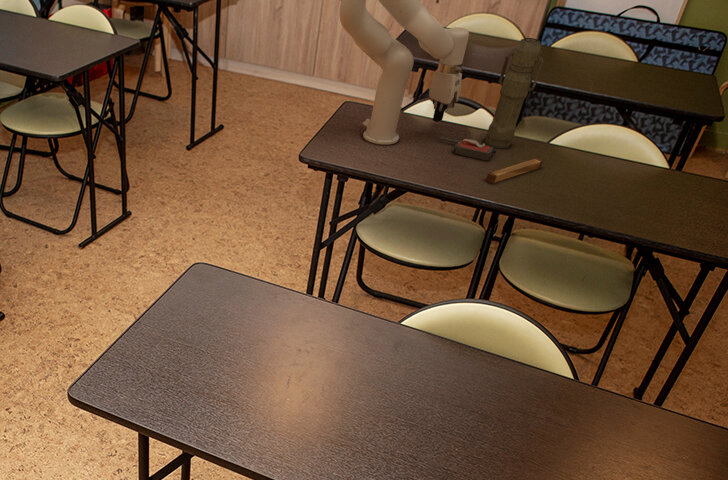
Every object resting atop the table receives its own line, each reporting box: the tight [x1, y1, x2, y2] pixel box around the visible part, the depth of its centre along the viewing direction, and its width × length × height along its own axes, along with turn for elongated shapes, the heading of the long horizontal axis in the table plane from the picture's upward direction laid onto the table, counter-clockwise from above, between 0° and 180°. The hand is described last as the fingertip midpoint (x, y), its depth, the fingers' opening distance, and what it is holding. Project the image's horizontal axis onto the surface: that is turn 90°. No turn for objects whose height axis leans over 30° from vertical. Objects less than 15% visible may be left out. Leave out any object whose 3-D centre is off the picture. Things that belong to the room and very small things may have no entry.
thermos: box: [484, 37, 544, 149], centre depth 234 cm, size 9×12×35 cm
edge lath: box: [485, 157, 544, 184], centre depth 226 cm, size 3×24×3 cm, turn 122°
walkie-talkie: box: [439, 136, 497, 161], centre depth 238 cm, size 9×4×20 cm
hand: (437, 120), depth 246 cm, fingers closed
